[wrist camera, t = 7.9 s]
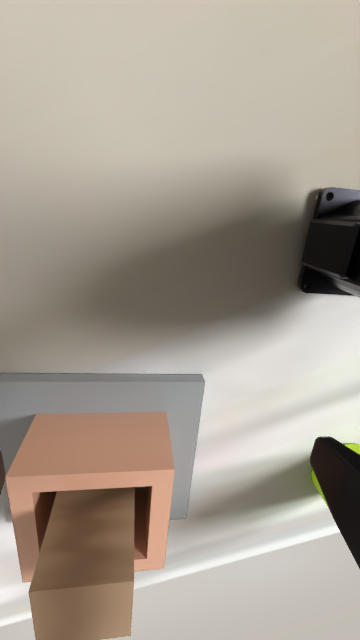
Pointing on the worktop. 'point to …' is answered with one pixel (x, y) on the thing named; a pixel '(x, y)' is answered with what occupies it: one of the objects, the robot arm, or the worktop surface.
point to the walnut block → (86, 567)
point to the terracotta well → (99, 450)
